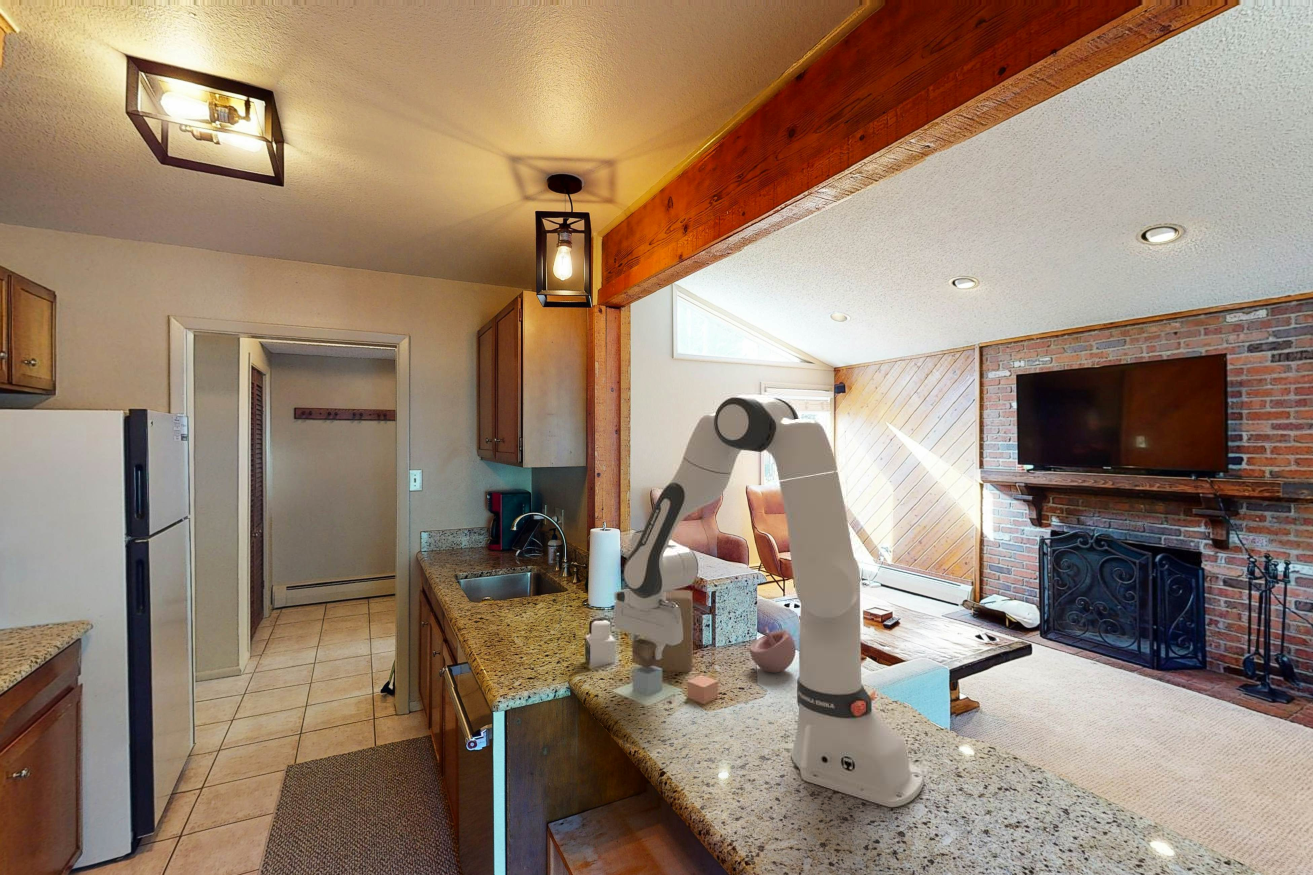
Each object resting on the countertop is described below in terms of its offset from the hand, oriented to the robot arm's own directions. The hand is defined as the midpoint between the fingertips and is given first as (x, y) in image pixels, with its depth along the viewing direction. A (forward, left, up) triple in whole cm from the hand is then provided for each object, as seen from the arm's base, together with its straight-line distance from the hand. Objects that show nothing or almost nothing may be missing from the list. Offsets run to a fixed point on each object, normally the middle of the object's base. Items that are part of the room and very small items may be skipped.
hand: (647, 655), depth 132 cm
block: (+7, -17, -10) cm, 21 cm away
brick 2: (0, 0, -8) cm, 8 cm away
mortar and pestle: (-13, -34, -10) cm, 38 cm away
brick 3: (-12, -6, -10) cm, 16 cm away
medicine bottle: (+24, -6, -10) cm, 27 cm away
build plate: (0, 0, -9) cm, 9 cm away
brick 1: (0, 0, -2) cm, 2 cm away
